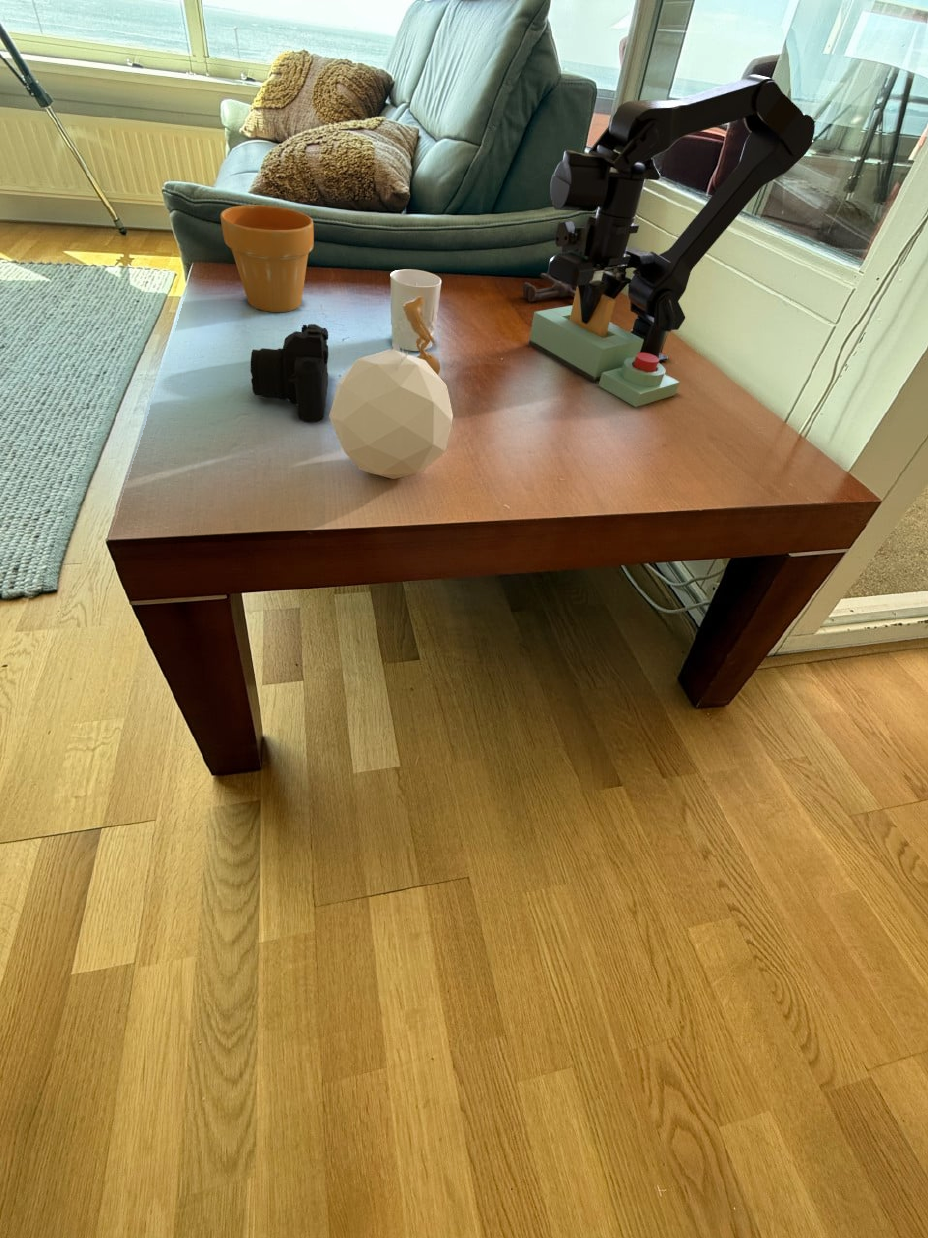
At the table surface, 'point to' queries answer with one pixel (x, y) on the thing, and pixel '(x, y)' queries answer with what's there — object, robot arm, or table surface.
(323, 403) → the film camera
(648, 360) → the button
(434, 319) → the white cup
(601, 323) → the toast
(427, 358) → the figurine
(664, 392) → the control block
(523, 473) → the table surface
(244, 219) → the flower pot
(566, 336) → the toaster
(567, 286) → the brown humanoid figure
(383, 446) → the geodesic sphere
